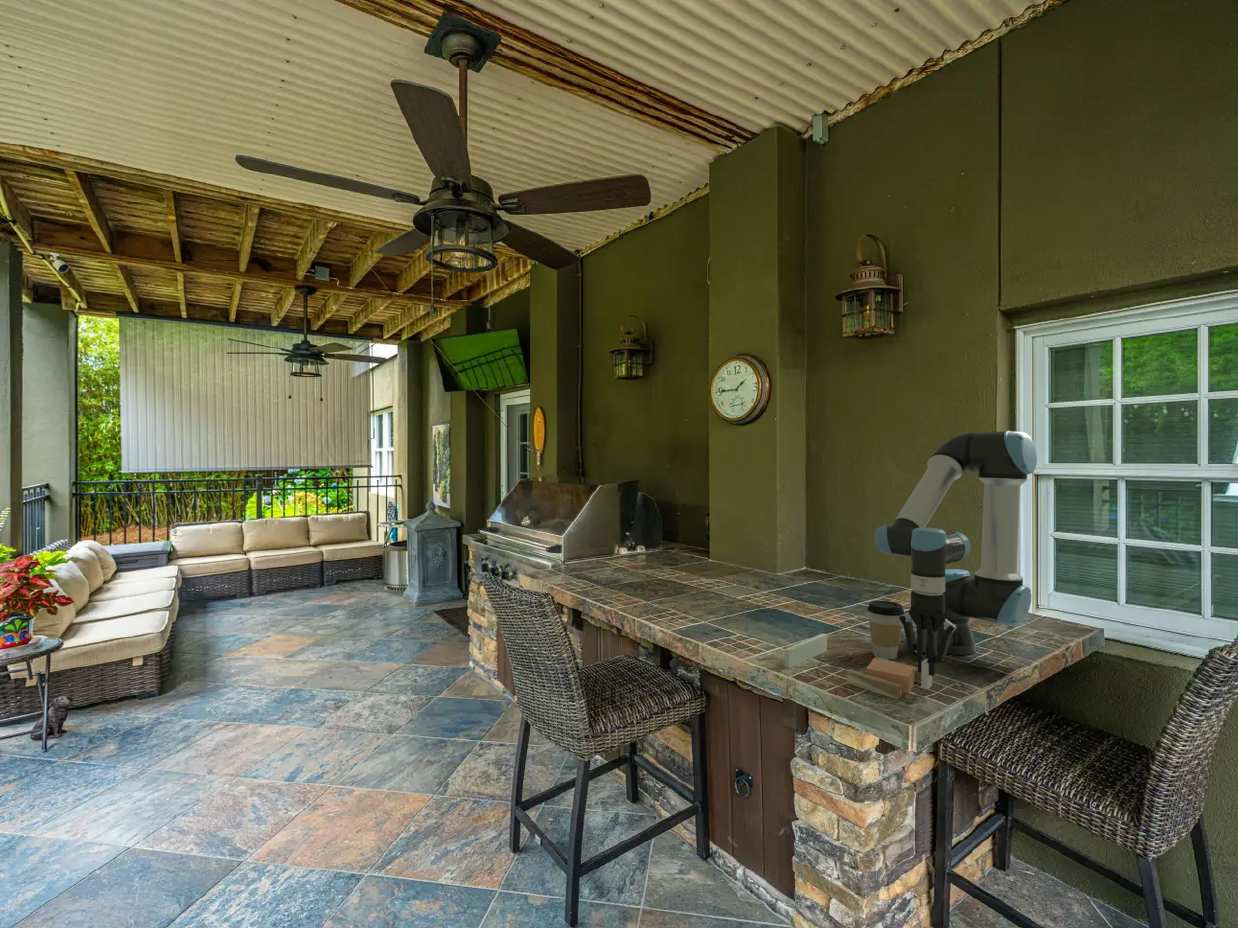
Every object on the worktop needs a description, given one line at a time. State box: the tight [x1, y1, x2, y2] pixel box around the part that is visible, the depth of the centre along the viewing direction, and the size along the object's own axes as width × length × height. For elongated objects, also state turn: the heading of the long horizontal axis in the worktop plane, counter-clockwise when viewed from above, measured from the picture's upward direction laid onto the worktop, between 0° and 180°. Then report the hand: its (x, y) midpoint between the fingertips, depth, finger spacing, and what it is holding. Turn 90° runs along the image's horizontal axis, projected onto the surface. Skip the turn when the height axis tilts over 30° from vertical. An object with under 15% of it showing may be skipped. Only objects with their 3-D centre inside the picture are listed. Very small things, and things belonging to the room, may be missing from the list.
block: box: [865, 658, 915, 695], centre depth 154 cm, size 8×10×4 cm
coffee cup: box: [866, 600, 905, 660], centre depth 174 cm, size 10×10×15 cm
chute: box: [846, 656, 921, 700], centre depth 155 cm, size 16×13×3 cm
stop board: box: [784, 632, 828, 669], centre depth 172 cm, size 20×1×5 cm, turn 132°
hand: (926, 686), depth 148 cm, fingers closed
